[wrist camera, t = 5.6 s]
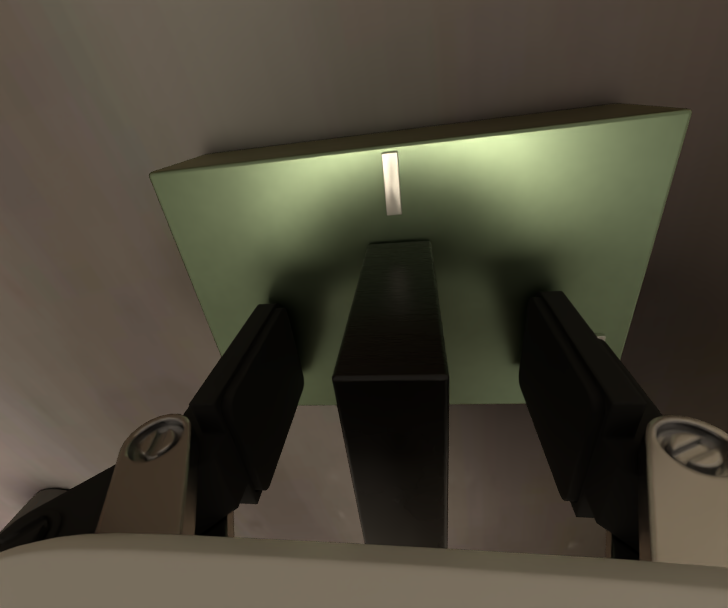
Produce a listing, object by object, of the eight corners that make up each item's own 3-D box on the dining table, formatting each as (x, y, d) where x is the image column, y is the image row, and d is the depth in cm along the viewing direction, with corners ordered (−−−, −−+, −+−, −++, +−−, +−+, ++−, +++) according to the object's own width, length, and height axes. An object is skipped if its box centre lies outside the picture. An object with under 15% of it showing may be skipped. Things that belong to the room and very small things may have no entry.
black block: (367, 243, 9) (325, 390, 5) (431, 239, 9) (452, 389, 4) (386, 422, 12) (373, 610, 8) (434, 423, 12) (448, 617, 8)
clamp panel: (620, 102, 10) (700, 108, 7) (560, 400, 15) (593, 468, 12) (204, 153, 12) (142, 174, 9) (283, 402, 17) (259, 462, 14)
